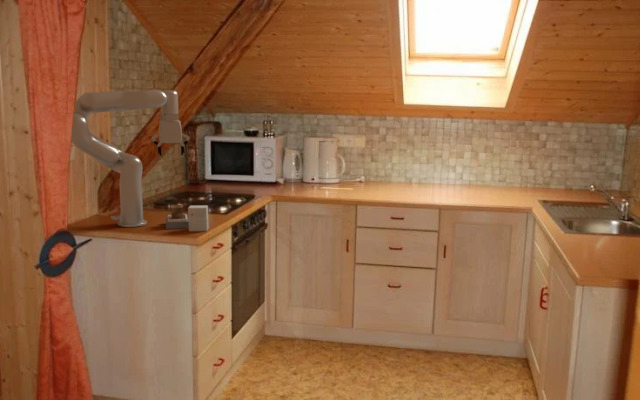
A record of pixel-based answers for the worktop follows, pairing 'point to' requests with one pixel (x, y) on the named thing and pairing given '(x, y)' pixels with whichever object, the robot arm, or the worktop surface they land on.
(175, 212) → the walnut brick
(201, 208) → the small box
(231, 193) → the worktop surface
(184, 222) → the grey open tray
